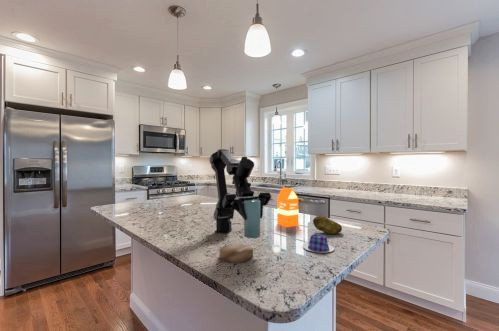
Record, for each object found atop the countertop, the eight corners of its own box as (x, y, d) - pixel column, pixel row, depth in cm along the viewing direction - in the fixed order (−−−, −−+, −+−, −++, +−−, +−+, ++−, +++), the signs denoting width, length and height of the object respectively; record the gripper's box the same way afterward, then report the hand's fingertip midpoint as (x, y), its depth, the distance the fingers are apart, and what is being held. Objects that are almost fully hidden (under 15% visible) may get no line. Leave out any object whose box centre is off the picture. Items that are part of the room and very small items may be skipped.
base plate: (213, 260, 87) (213, 253, 87) (228, 248, 99) (228, 242, 98) (246, 265, 83) (246, 257, 83) (257, 252, 94) (257, 246, 94)
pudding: (337, 247, 101) (337, 234, 101) (329, 256, 91) (329, 242, 91) (309, 242, 108) (309, 230, 107) (298, 250, 98) (298, 237, 97)
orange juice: (287, 221, 143) (287, 186, 142) (298, 225, 135) (298, 188, 135) (277, 223, 139) (277, 187, 138) (287, 227, 131) (287, 189, 131)
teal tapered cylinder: (240, 236, 93) (240, 200, 92) (250, 232, 97) (250, 198, 97) (253, 239, 89) (253, 202, 89) (263, 235, 94) (263, 200, 93)
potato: (340, 237, 114) (340, 219, 113) (311, 233, 119) (311, 216, 119) (342, 232, 121) (342, 215, 121) (315, 229, 127) (315, 213, 127)
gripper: (256, 196, 111) (268, 227, 101) (215, 199, 103) (224, 233, 93) (265, 180, 103) (278, 211, 94) (221, 181, 96) (231, 216, 86)
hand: (253, 218), depth 92 cm, fingers closed on teal tapered cylinder, 6 cm apart
